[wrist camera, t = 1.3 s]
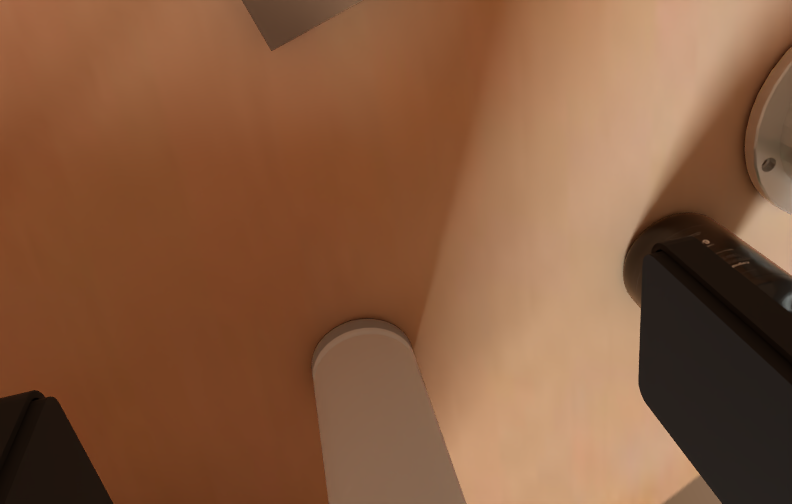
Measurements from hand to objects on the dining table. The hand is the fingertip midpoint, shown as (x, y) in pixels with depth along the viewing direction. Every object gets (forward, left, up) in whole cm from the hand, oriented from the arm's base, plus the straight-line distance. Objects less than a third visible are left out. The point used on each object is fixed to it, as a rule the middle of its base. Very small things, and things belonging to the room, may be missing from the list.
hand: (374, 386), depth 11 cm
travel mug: (+6, +18, -25) cm, 31 cm away
